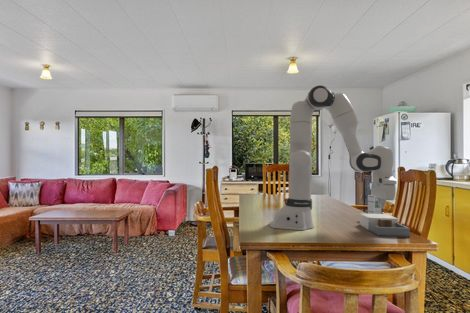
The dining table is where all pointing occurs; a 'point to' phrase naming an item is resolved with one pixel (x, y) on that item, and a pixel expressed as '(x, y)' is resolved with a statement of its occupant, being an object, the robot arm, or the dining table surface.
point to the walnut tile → (385, 223)
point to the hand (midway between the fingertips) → (381, 207)
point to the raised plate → (375, 219)
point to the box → (389, 230)
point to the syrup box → (374, 205)
